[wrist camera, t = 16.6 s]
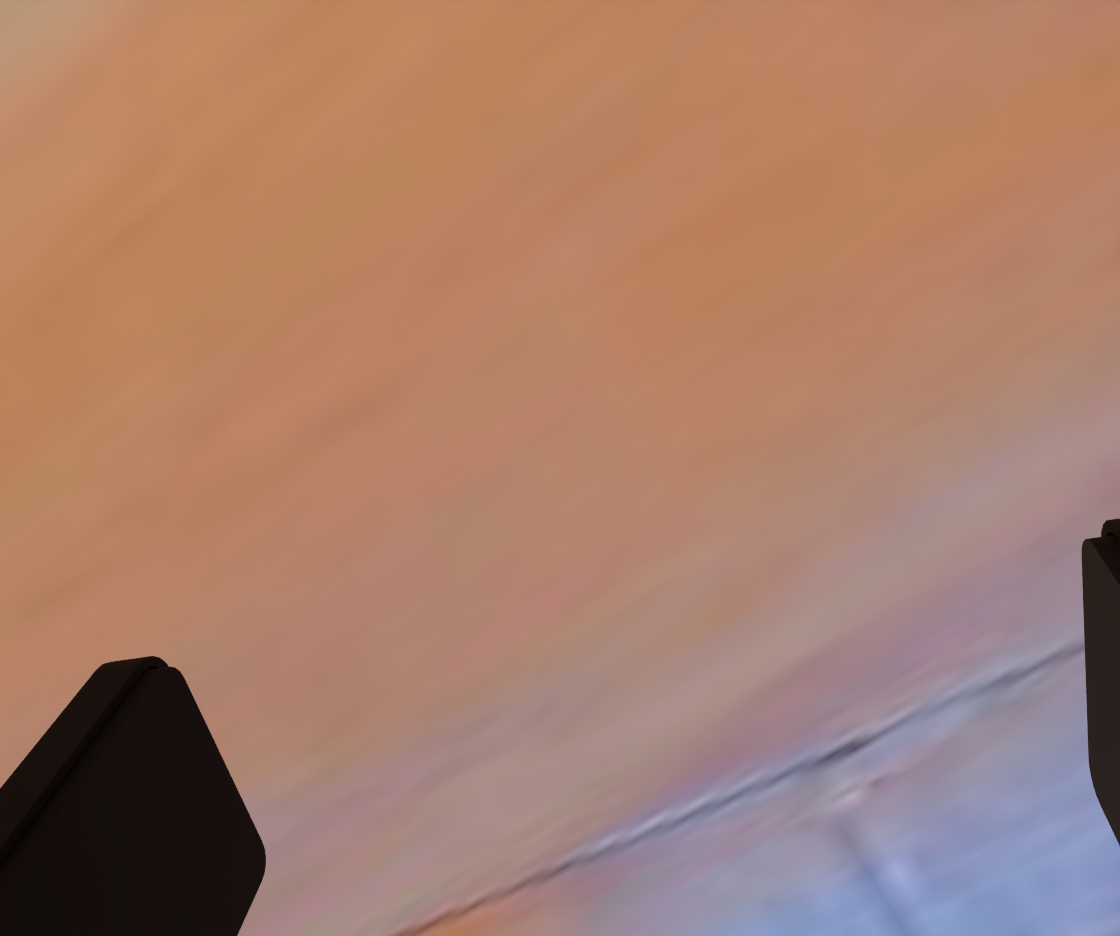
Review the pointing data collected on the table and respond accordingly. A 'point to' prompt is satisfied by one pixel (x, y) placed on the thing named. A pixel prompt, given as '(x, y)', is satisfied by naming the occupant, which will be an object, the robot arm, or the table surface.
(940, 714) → the table surface
